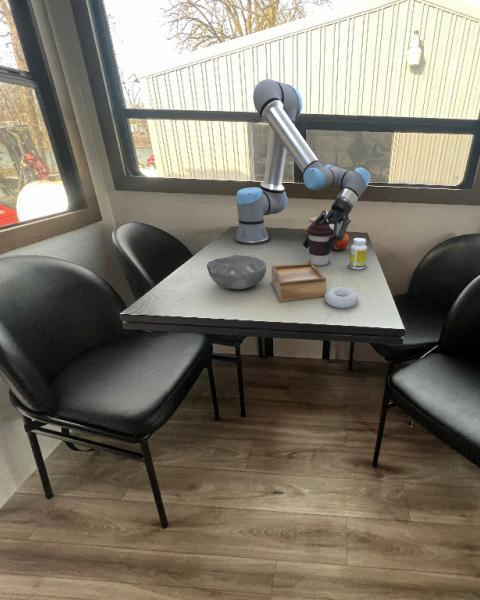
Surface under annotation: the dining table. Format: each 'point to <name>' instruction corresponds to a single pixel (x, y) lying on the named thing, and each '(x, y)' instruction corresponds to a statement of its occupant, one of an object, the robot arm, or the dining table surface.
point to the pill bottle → (358, 253)
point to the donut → (341, 297)
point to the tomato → (341, 243)
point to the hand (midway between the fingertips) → (314, 249)
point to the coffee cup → (318, 242)
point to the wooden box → (298, 281)
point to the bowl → (237, 271)
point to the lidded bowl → (315, 219)
